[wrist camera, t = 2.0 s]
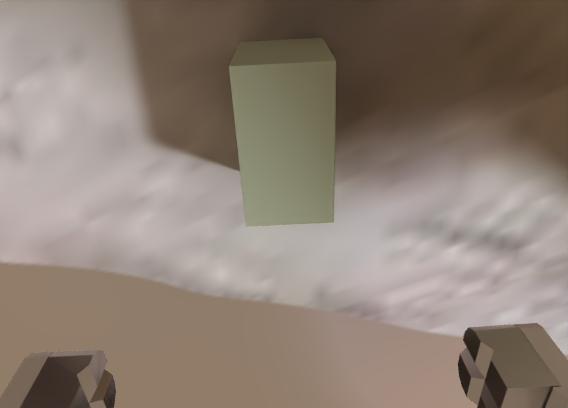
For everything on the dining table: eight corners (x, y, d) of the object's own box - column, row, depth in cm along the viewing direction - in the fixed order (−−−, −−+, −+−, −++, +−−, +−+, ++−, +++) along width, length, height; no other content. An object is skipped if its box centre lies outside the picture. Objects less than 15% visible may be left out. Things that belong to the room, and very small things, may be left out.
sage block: (322, 37, 23) (336, 60, 18) (322, 171, 27) (333, 222, 22) (239, 41, 23) (228, 66, 18) (251, 174, 27) (245, 226, 22)
